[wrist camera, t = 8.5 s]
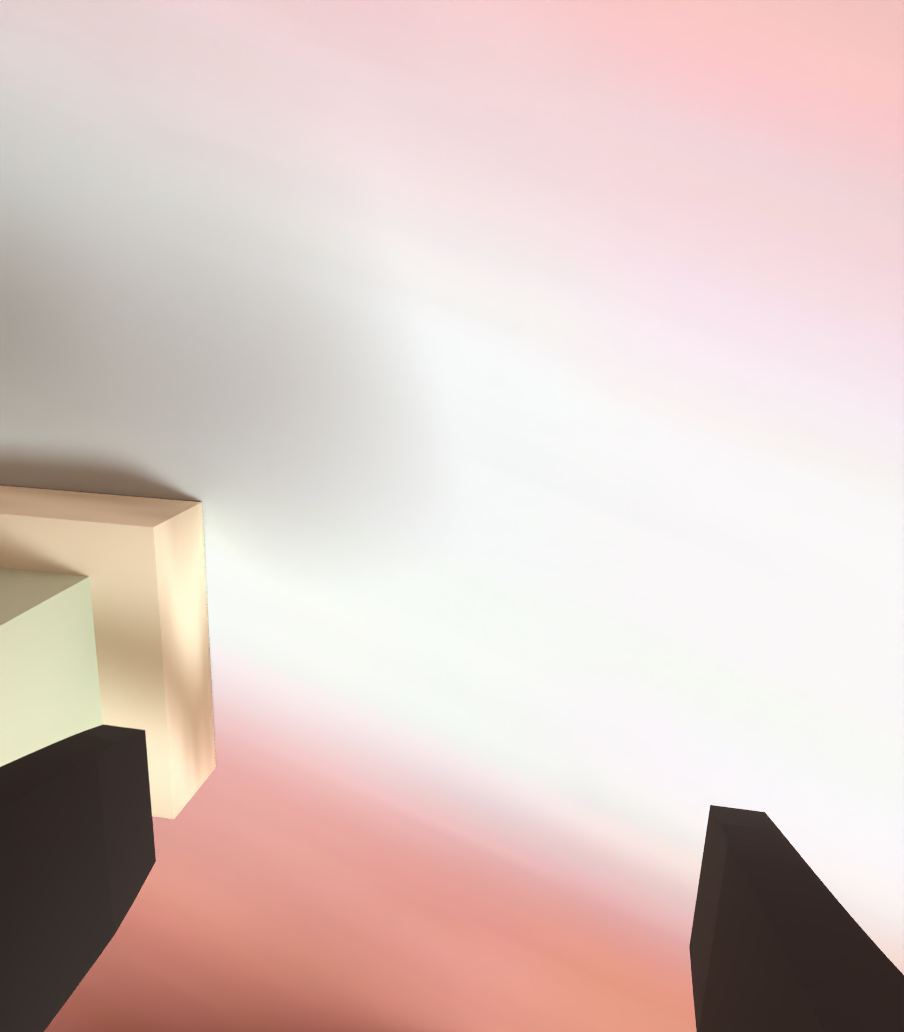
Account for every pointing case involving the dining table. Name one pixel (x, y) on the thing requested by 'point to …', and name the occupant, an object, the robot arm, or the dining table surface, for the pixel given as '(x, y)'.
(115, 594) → the birch slab
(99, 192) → the dining table surface
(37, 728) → the sage cube
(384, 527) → the dining table surface
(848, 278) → the dining table surface
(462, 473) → the dining table surface
